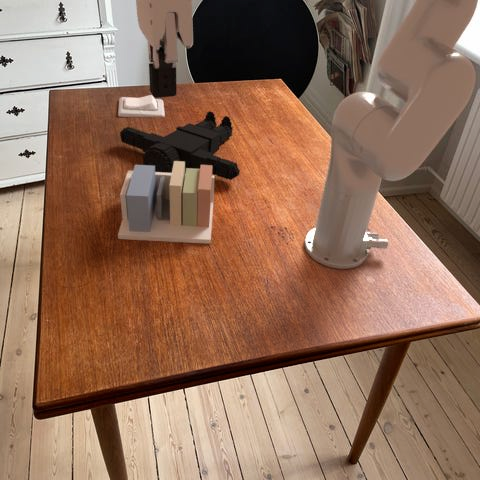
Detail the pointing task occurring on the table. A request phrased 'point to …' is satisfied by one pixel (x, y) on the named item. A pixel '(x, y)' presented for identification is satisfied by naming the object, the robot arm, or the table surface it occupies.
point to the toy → (186, 146)
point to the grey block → (141, 198)
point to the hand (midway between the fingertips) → (163, 94)
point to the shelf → (160, 225)
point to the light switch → (141, 107)
